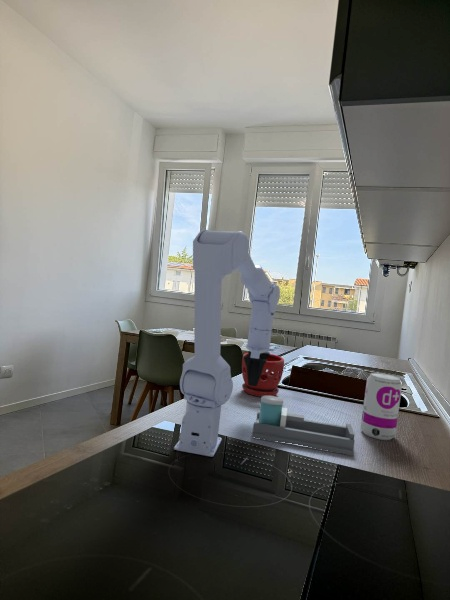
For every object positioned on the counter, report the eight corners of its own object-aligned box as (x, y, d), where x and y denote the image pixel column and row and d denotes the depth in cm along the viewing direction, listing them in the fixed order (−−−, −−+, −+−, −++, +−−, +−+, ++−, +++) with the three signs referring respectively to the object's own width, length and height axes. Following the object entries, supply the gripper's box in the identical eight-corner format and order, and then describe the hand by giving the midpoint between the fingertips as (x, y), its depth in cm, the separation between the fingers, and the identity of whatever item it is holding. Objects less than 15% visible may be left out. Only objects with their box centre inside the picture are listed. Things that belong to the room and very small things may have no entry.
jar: (277, 433, 95) (281, 403, 95) (256, 429, 97) (259, 399, 97) (281, 427, 100) (284, 398, 100) (260, 422, 102) (263, 394, 101)
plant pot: (236, 386, 139) (241, 350, 139) (276, 389, 140) (280, 354, 139) (240, 397, 126) (245, 357, 126) (283, 401, 127) (288, 362, 126)
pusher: (302, 437, 94) (304, 418, 94) (279, 433, 95) (281, 415, 95) (302, 428, 100) (304, 410, 100) (280, 424, 101) (282, 407, 101)
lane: (353, 456, 90) (355, 437, 90) (251, 438, 94) (253, 420, 94) (347, 438, 101) (349, 421, 101) (256, 422, 105) (258, 406, 104)
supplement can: (399, 442, 102) (408, 381, 101) (365, 438, 102) (373, 377, 101) (387, 430, 110) (395, 374, 109) (356, 427, 110) (363, 370, 109)
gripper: (274, 334, 99) (267, 391, 99) (277, 328, 113) (271, 378, 113) (244, 330, 100) (238, 386, 100) (251, 325, 114) (245, 374, 115)
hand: (254, 382), depth 107 cm, fingers open, 7 cm apart
